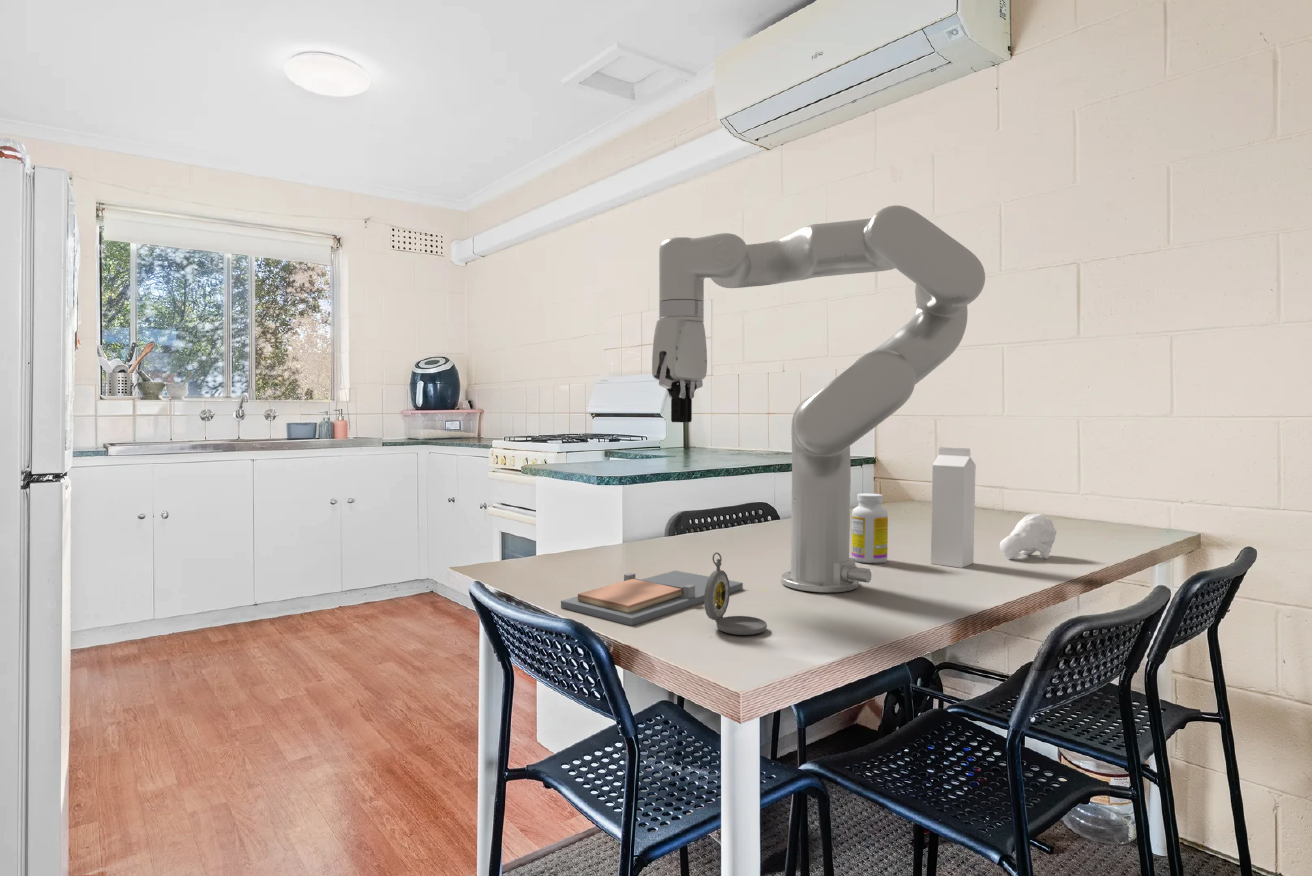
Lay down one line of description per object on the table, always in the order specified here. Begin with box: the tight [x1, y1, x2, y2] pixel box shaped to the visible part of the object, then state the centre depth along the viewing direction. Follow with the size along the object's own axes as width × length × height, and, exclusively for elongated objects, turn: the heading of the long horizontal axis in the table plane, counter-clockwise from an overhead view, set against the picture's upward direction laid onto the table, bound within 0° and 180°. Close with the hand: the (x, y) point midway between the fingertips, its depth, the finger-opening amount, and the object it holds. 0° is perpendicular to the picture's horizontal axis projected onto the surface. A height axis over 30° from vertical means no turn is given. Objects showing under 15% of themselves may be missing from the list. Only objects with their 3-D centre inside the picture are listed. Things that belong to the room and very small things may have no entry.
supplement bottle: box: [851, 492, 889, 564], centre depth 145 cm, size 7×7×13 cm
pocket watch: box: [703, 552, 768, 636], centre depth 100 cm, size 8×8×10 cm
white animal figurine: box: [999, 513, 1058, 561], centre depth 148 cm, size 6×8×12 cm
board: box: [560, 570, 744, 627], centre depth 116 cm, size 14×27×3 cm, turn 140°
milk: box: [930, 446, 977, 569], centre depth 142 cm, size 6×6×22 cm
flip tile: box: [577, 577, 683, 613], centre depth 112 cm, size 10×13×1 cm
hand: (681, 421), depth 128 cm, fingers closed
